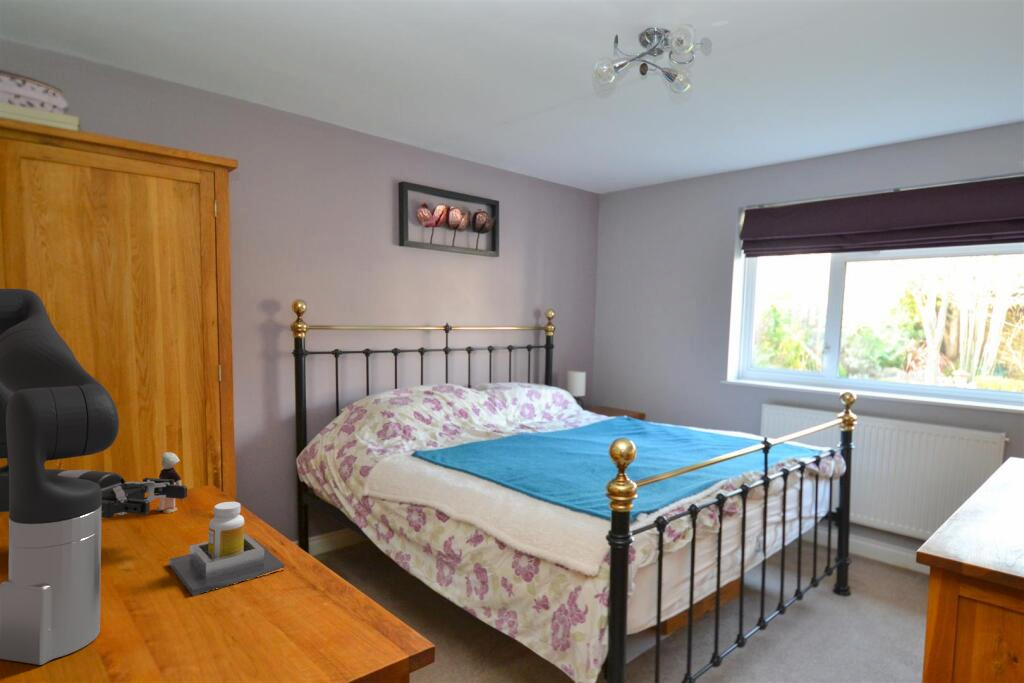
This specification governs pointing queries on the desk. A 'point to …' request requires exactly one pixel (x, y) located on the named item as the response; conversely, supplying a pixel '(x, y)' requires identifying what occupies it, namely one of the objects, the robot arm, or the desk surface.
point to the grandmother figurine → (169, 473)
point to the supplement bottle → (226, 531)
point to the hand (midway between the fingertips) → (167, 499)
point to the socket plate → (223, 566)
